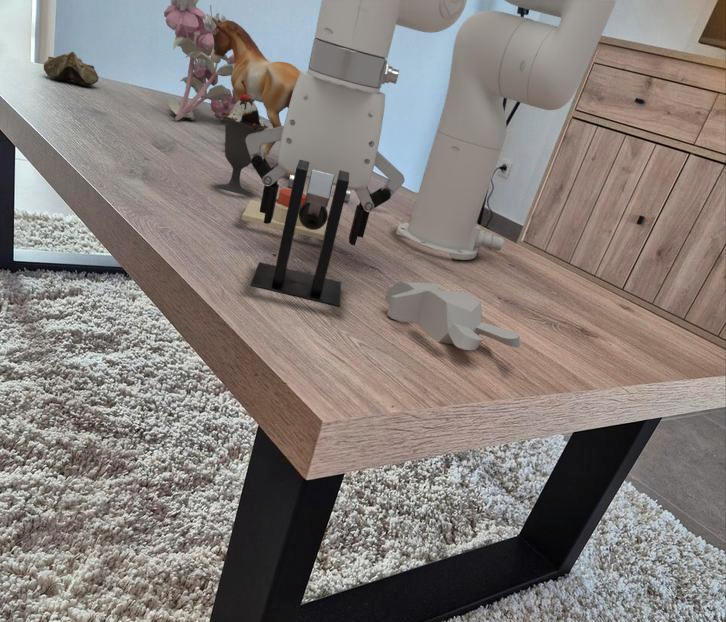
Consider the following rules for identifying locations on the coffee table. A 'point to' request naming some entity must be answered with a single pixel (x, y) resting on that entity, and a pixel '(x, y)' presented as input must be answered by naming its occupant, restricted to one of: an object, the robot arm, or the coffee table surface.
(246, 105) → the sundae
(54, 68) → the fossilized seashell
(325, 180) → the press lever
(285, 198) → the button
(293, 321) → the coffee table surface
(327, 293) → the lever bracket
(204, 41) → the flower
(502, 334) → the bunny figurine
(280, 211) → the button block
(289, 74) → the horse figurine
